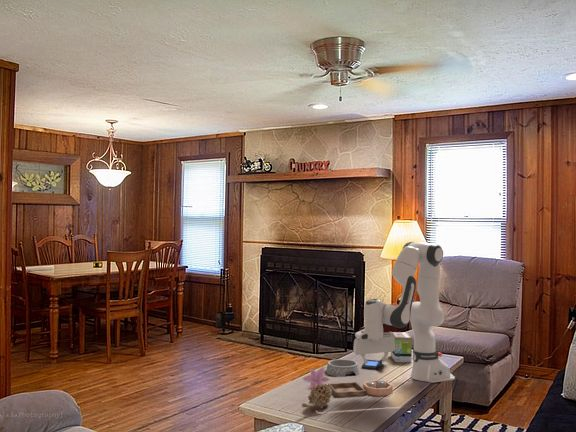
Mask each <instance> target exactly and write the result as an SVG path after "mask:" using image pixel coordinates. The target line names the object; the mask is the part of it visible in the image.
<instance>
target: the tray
mask: <svg viewBox="0 0 576 432" xmlns="http://www.w3.org/2000/svg"><path fill="white" fill-rule="evenodd" d="M327 385H328V387H330V389H332V391H331V392H332V393H331V394H333V396H335V398H345V397H357V396H361V397H362V396H367V393H366V390H365V389H364V388H363V386H362V385H360V383H358V382H357V381H353V382H352V381H351V382H349V381H347V382H336V383H334V382H333V383H327Z"/></svg>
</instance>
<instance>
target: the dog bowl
mask: <svg viewBox="0 0 576 432" xmlns="http://www.w3.org/2000/svg"><path fill="white" fill-rule="evenodd" d="M325 373H326V374H327V373H328V374H327V375H330V376H332V375H333V376H334V377H340V378H343V377H346V375H352V374H355V376H358V375H359V374H360V370H359V364H358V362H357V361H355V360H353V359H347V358H346V359H345V358H343V359H342V358H341V359H339V358H338V359H337V358H336V359H332V360H329V361H328V362H327V366H326V371H325Z"/></svg>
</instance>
